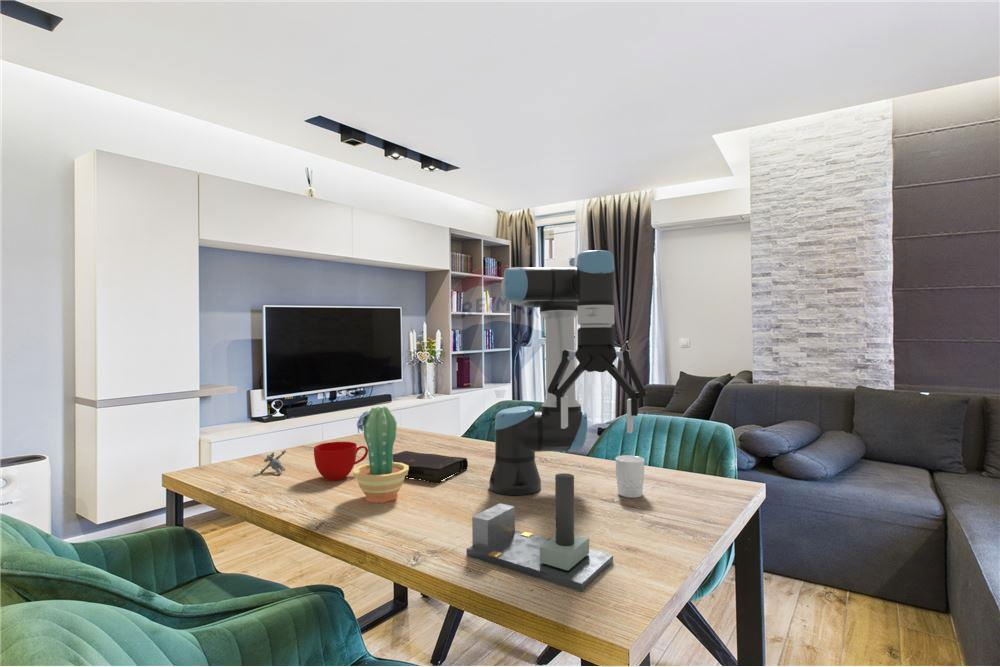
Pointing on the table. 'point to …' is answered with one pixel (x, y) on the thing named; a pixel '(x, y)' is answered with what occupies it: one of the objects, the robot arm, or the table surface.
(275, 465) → the grey figurine
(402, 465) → the potted cactus
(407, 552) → the table surface
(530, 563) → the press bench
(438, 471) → the diary
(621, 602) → the table surface
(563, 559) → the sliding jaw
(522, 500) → the table surface
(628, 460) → the white cup
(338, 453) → the ceramic cup
